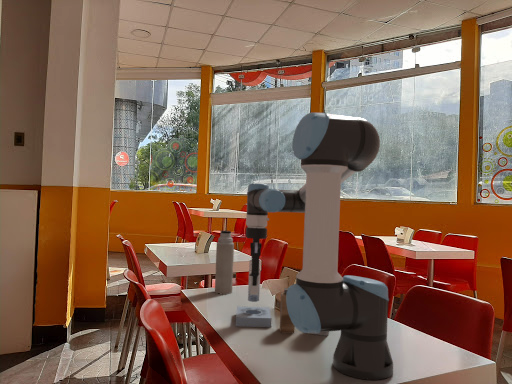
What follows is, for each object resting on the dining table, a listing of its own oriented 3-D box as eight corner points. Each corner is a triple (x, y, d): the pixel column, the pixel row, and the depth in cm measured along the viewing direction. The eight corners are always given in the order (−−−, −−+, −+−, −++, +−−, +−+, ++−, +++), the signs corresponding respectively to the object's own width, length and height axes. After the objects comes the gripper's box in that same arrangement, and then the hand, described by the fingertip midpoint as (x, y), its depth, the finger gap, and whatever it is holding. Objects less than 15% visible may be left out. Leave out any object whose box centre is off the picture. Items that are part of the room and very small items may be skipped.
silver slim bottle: (259, 301, 140) (261, 257, 141) (247, 301, 140) (249, 256, 140) (258, 299, 144) (260, 255, 145) (247, 298, 144) (249, 255, 144)
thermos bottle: (227, 289, 189) (229, 230, 190) (235, 293, 182) (237, 231, 183) (211, 290, 185) (214, 230, 186) (219, 294, 178) (221, 231, 179)
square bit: (294, 333, 130) (295, 290, 130) (280, 332, 130) (282, 290, 130) (292, 328, 134) (294, 288, 135) (279, 328, 134) (281, 287, 135)
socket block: (271, 327, 135) (271, 318, 135) (235, 326, 135) (235, 317, 135) (268, 315, 149) (269, 307, 149) (236, 314, 149) (237, 306, 149)
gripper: (268, 229, 134) (265, 299, 134) (266, 225, 151) (263, 287, 151) (246, 228, 134) (243, 298, 134) (246, 224, 151) (243, 287, 151)
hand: (253, 292), depth 142 cm, fingers closed on silver slim bottle, 4 cm apart
